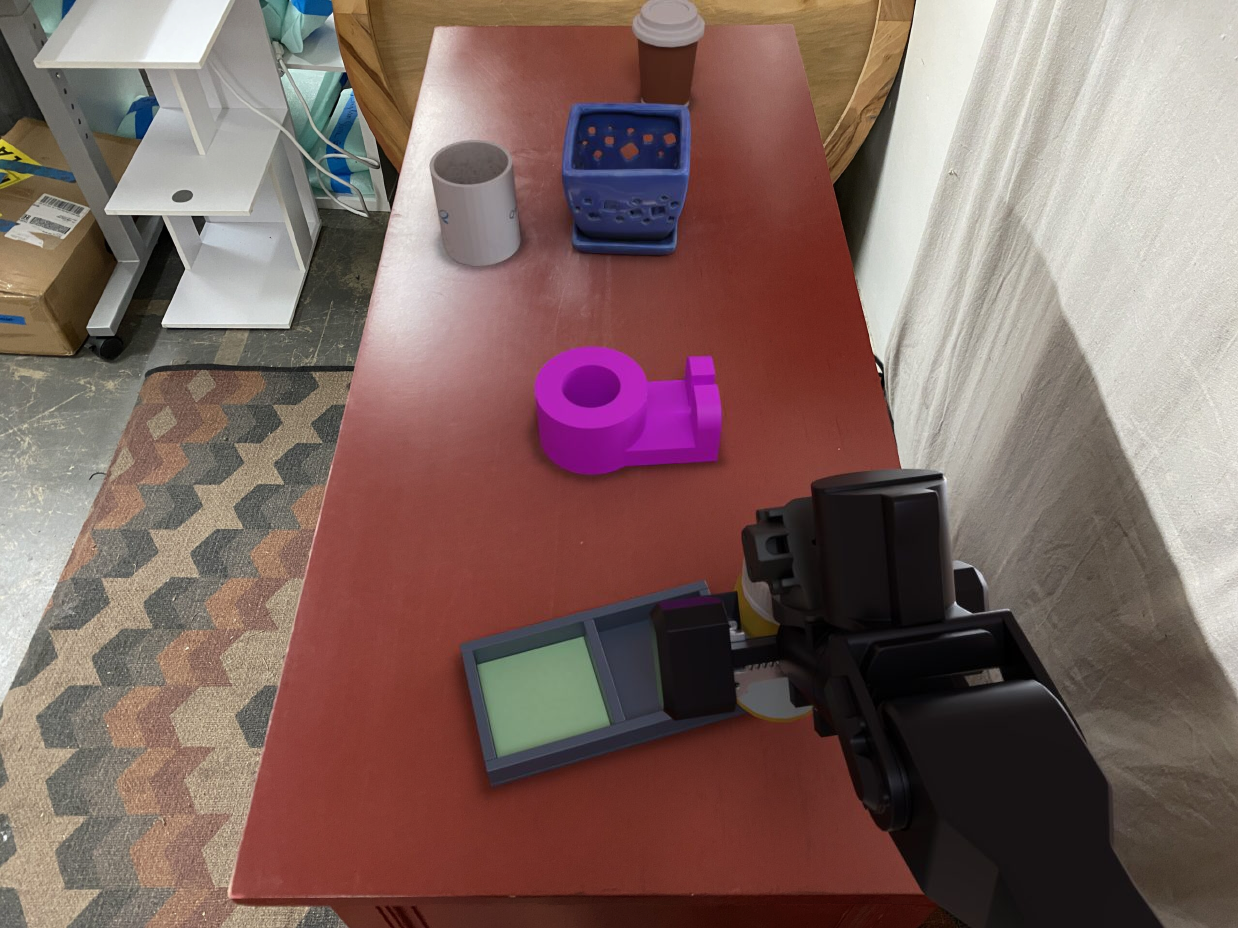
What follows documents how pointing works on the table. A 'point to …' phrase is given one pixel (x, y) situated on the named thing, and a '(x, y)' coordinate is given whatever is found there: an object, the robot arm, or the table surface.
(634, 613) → the blue-grey divided tray
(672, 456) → the tape dispenser
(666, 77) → the coffee cup
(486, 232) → the mug
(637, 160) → the flower pot
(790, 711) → the bottle
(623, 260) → the table surface
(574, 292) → the table surface
